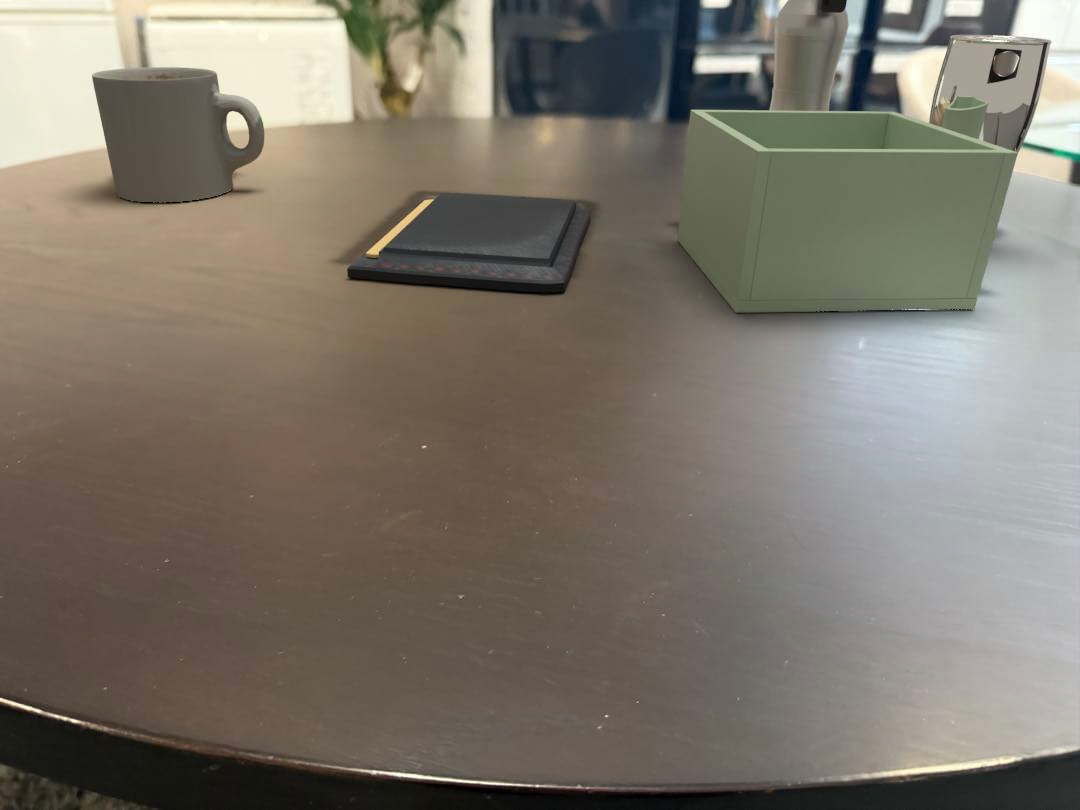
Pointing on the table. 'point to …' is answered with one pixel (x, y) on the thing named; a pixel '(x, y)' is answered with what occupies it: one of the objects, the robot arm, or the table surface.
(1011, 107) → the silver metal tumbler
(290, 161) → the table surface
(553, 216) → the wallet
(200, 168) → the coffee mug
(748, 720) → the table surface
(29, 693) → the table surface
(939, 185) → the bin
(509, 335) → the table surface
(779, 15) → the plastic bottle
